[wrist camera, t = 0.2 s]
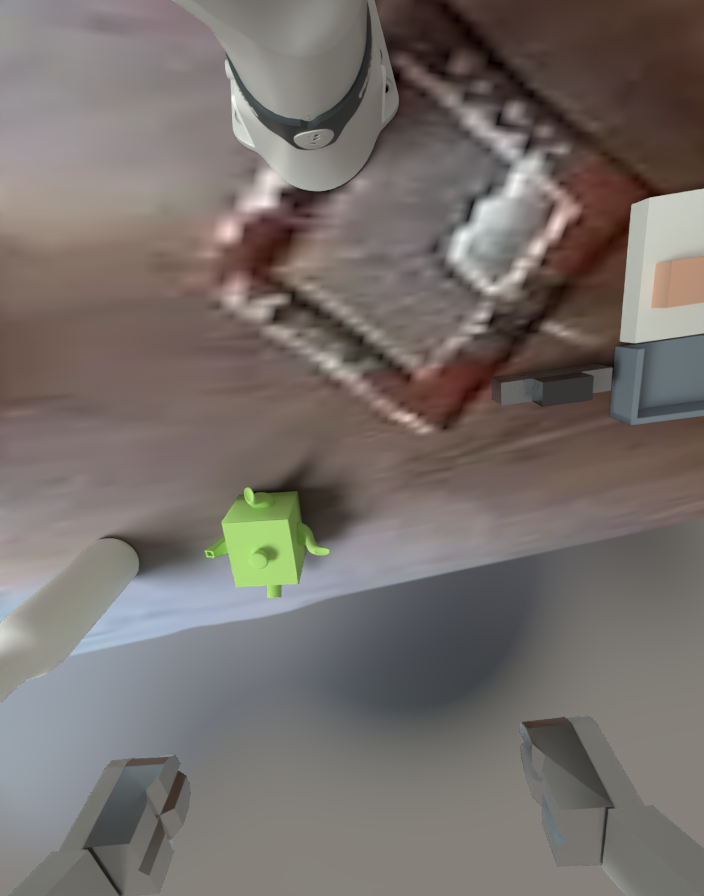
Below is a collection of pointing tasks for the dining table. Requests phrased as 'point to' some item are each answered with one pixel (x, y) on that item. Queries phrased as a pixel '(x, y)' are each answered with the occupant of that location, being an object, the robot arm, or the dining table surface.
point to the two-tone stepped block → (553, 385)
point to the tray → (658, 380)
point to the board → (656, 241)
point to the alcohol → (63, 612)
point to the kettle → (265, 540)
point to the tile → (678, 283)
